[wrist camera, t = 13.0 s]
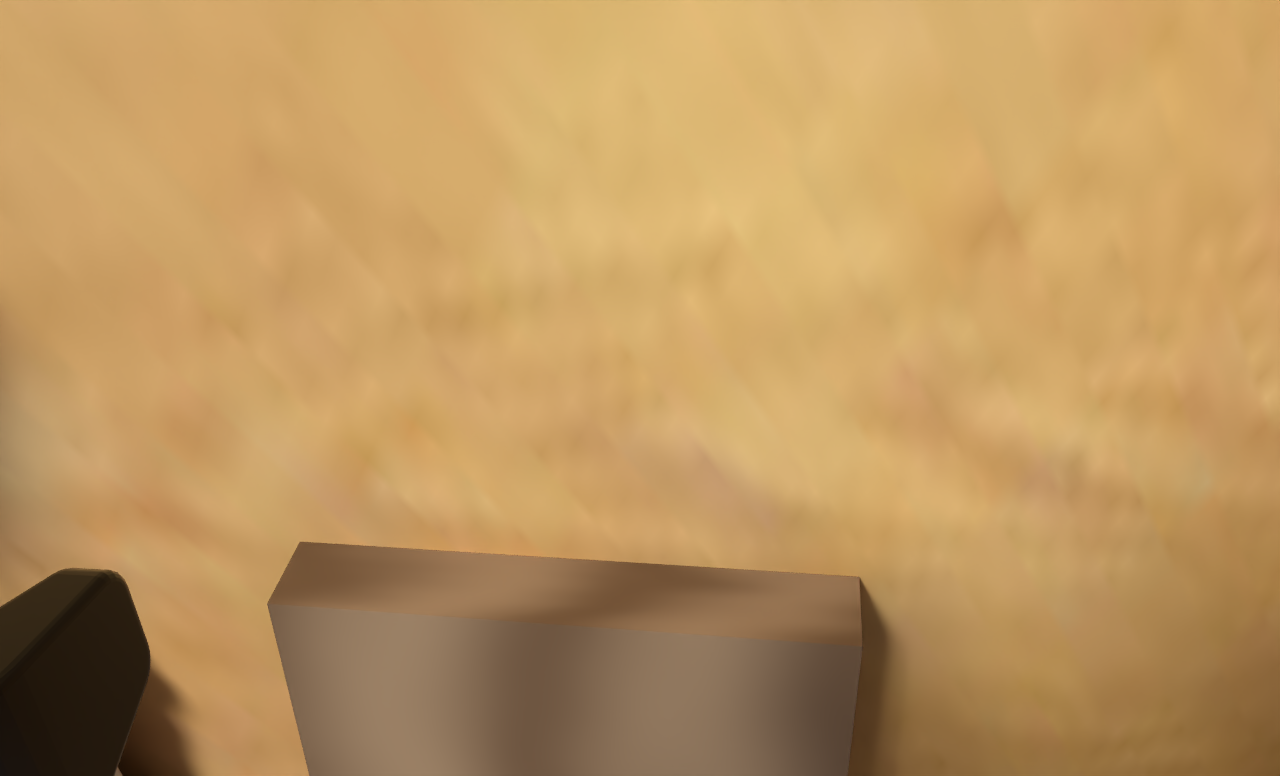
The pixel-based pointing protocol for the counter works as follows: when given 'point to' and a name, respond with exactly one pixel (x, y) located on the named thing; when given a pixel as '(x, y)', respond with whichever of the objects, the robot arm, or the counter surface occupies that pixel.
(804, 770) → the walnut block
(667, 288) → the counter surface
